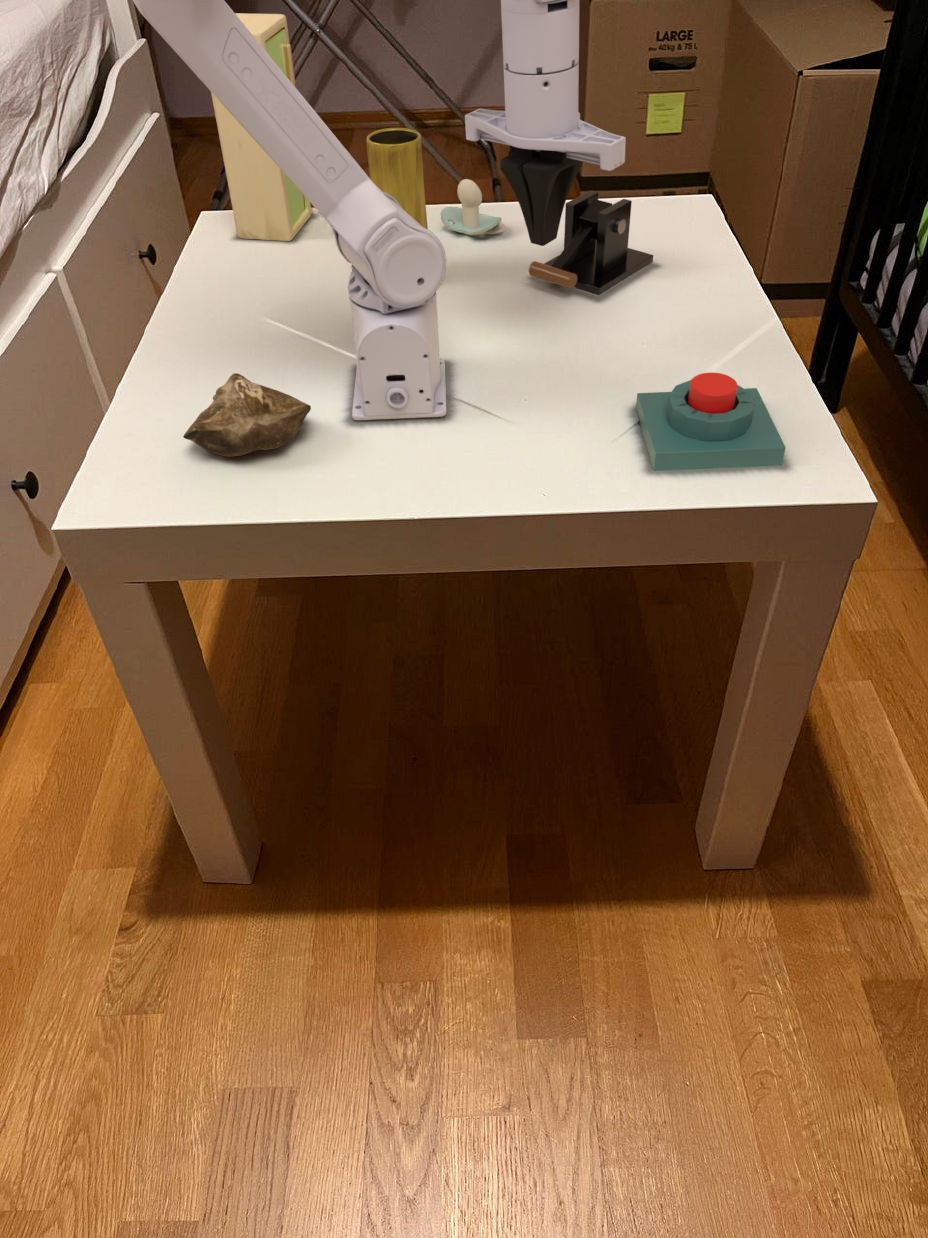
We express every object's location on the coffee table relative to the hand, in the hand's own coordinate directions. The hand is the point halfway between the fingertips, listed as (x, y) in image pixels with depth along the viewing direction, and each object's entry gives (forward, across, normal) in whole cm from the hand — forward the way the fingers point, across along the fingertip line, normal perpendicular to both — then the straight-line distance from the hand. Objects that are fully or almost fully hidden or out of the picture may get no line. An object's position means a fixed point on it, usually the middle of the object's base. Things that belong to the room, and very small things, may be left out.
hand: (543, 240), depth 83 cm
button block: (+11, -19, +4) cm, 22 cm away
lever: (+8, +6, -14) cm, 17 cm away
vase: (+10, +21, -3) cm, 24 cm away
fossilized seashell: (+9, +10, +27) cm, 30 cm away
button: (+7, -19, +4) cm, 21 cm away
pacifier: (+11, +23, -17) cm, 31 cm away
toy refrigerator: (+10, +43, -5) cm, 44 cm away
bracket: (+11, +6, -17) cm, 21 cm away
